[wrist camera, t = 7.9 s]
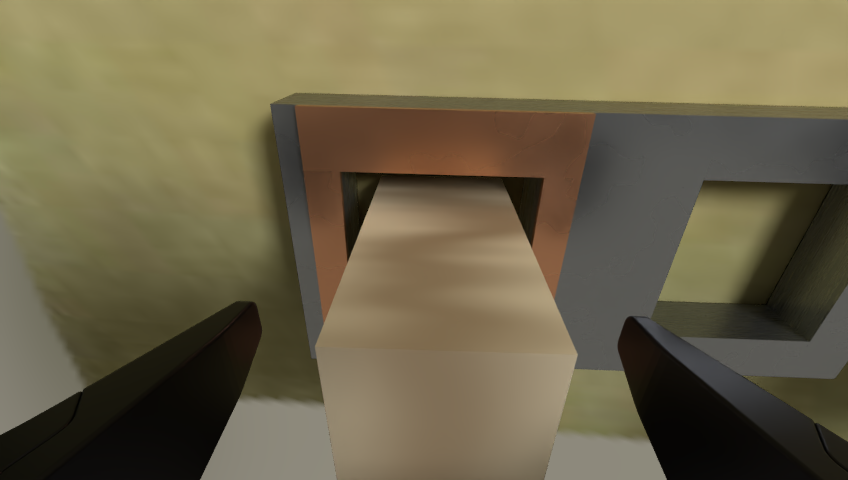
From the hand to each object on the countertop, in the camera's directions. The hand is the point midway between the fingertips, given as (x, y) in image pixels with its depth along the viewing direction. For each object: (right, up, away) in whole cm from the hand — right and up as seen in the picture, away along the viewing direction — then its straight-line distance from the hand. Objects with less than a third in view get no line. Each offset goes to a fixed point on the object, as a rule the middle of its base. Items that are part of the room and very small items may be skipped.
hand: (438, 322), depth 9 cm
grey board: (+5, +2, +4) cm, 7 cm away
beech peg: (0, +2, +4) cm, 5 cm away
